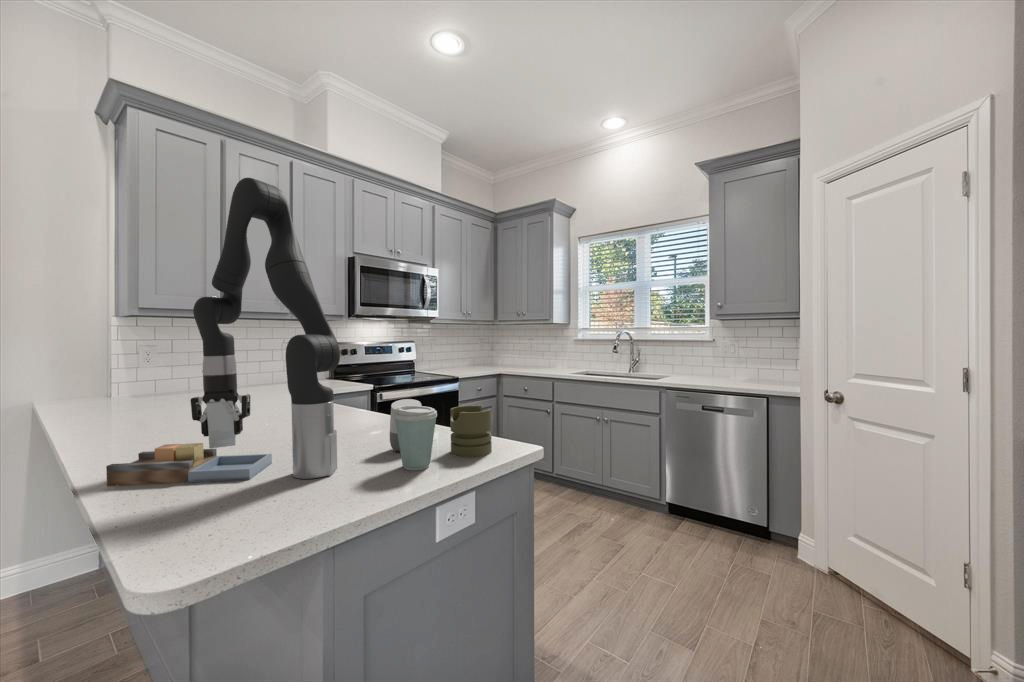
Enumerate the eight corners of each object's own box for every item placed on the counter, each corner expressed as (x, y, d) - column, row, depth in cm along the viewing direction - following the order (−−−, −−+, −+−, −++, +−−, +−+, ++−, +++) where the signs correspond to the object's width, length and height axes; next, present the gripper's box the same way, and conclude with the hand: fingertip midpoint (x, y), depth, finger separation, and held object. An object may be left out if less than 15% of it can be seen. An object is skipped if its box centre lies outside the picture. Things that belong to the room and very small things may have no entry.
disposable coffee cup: (433, 459, 120) (433, 402, 119) (442, 470, 110) (441, 408, 109) (392, 463, 116) (391, 405, 116) (397, 476, 106) (396, 412, 106)
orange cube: (183, 460, 110) (183, 443, 110) (173, 464, 106) (173, 448, 106) (165, 460, 110) (165, 444, 110) (155, 465, 106) (154, 448, 106)
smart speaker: (388, 455, 124) (387, 404, 123) (390, 447, 133) (390, 399, 132) (424, 453, 126) (423, 402, 125) (423, 445, 135) (423, 398, 134)
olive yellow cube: (203, 459, 111) (203, 442, 111) (194, 464, 107) (194, 447, 107) (185, 460, 111) (185, 443, 110) (176, 464, 107) (175, 447, 106)
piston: (461, 414, 118) (443, 408, 128) (462, 460, 119) (444, 450, 128) (498, 409, 125) (479, 404, 134) (499, 453, 125) (479, 444, 134)
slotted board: (216, 466, 115) (216, 448, 115) (189, 482, 103) (189, 462, 103) (143, 469, 113) (142, 451, 113) (107, 486, 101) (106, 466, 101)
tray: (271, 463, 117) (271, 453, 117) (249, 479, 104) (249, 468, 104) (217, 465, 116) (217, 456, 116) (188, 482, 103) (188, 471, 103)
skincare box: (236, 442, 124) (235, 398, 124) (235, 446, 120) (234, 400, 120) (209, 446, 121) (208, 400, 121) (208, 449, 117) (206, 402, 117)
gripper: (254, 370, 125) (257, 430, 125) (198, 372, 123) (200, 433, 123) (242, 372, 117) (244, 436, 118) (182, 375, 116) (184, 440, 116)
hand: (222, 434), depth 121 cm, fingers closed on skincare box, 7 cm apart
